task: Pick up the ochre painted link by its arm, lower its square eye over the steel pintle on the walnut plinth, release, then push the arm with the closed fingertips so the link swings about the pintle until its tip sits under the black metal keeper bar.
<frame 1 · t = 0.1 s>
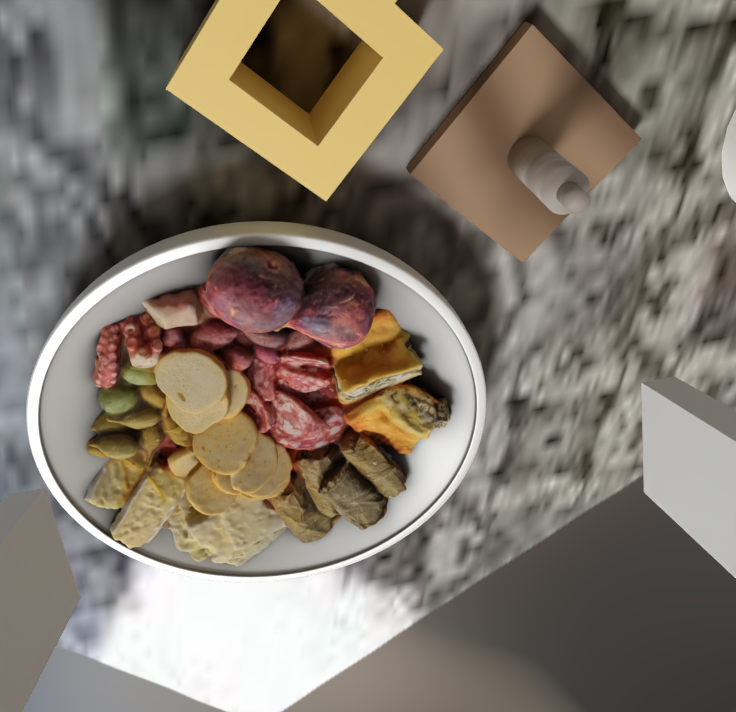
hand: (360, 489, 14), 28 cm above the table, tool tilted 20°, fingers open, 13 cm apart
bowl: (268, 394, 48), on the table
pintle stand: (520, 150, 39), on the table
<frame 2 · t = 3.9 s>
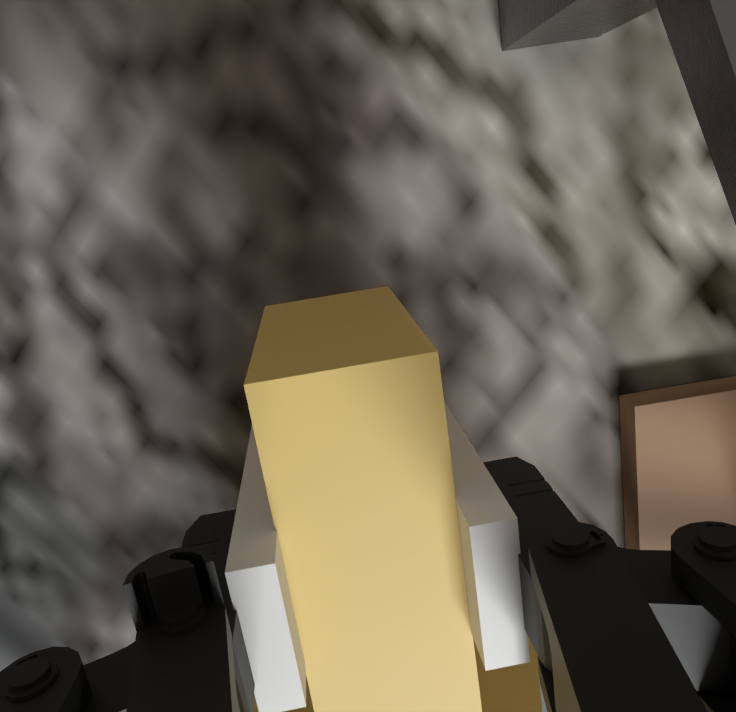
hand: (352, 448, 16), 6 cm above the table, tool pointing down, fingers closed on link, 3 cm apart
link: (326, 295, 16), point 6 cm above the table, touching gripper
keeper: (681, 63, 15), on the table
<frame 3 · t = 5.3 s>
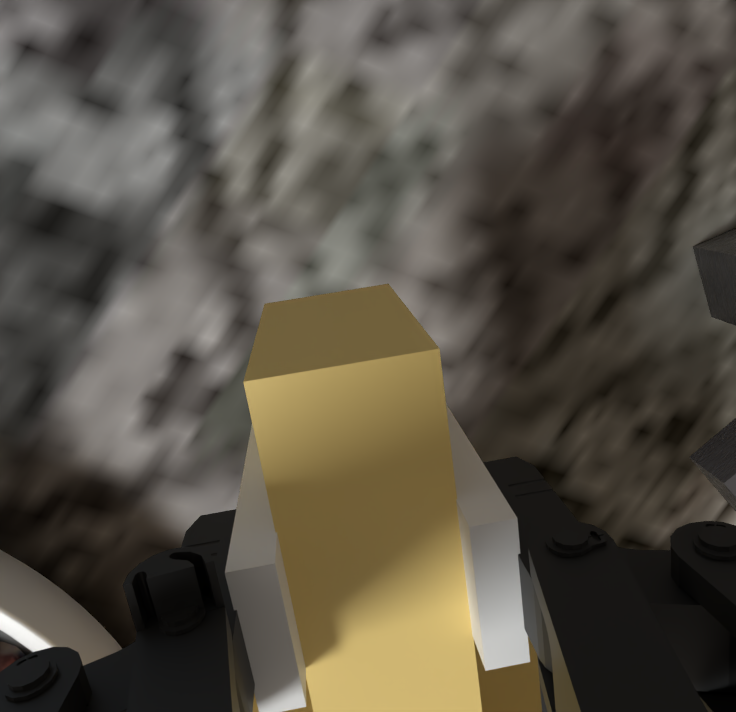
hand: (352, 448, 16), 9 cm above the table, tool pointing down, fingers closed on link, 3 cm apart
link: (326, 293, 16), point 8 cm above the table, touching gripper
when the fingers open (1 cm above the table, at t = 6.8 s): link stays where it is, resting on pintle stand.
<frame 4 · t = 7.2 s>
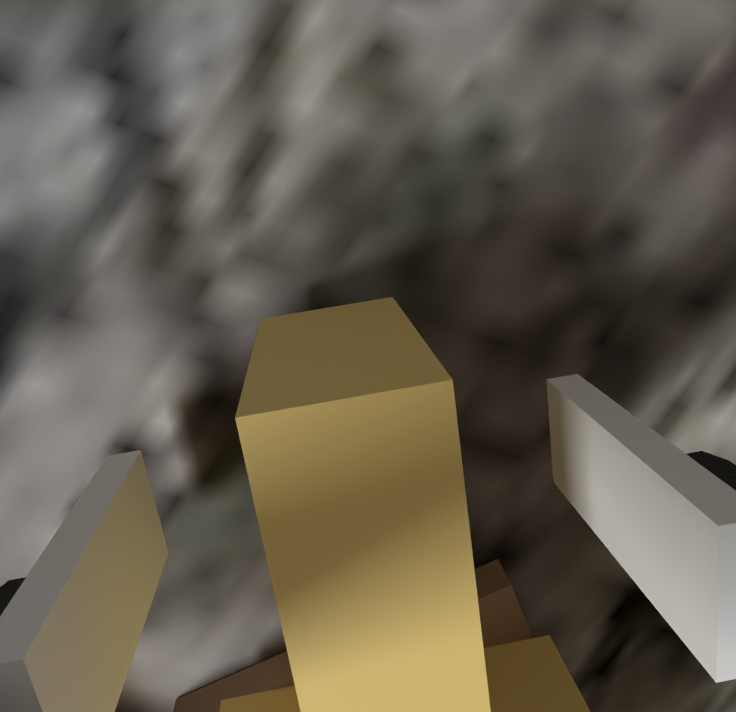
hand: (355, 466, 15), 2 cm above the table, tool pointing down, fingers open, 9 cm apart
link: (326, 307, 15), point 1 cm above the table, touching pintle stand
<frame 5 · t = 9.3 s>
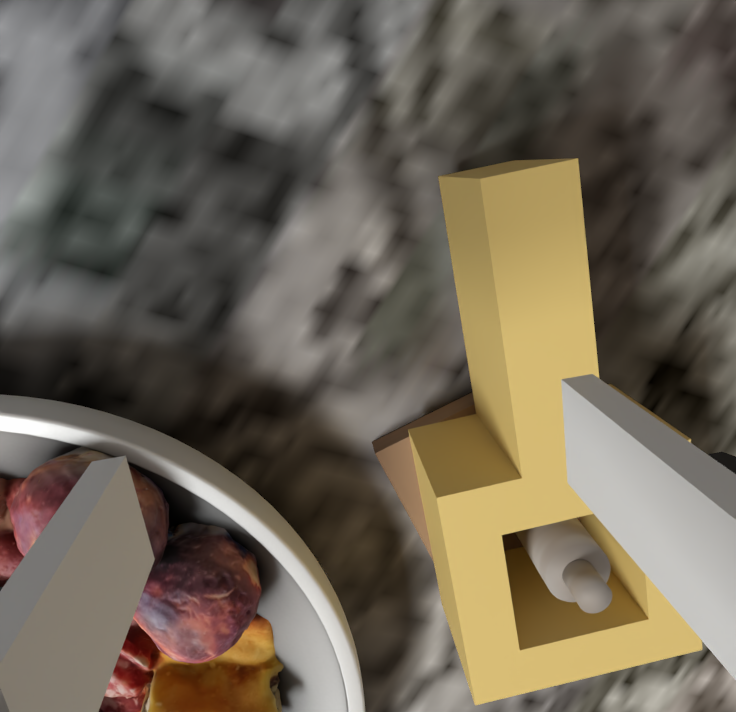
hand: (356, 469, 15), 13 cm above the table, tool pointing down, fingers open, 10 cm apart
bowl: (43, 664, 31), on the table
link: (476, 168, 25), point 1 cm above the table, touching pintle stand
pintle stand: (514, 481, 30), on the table
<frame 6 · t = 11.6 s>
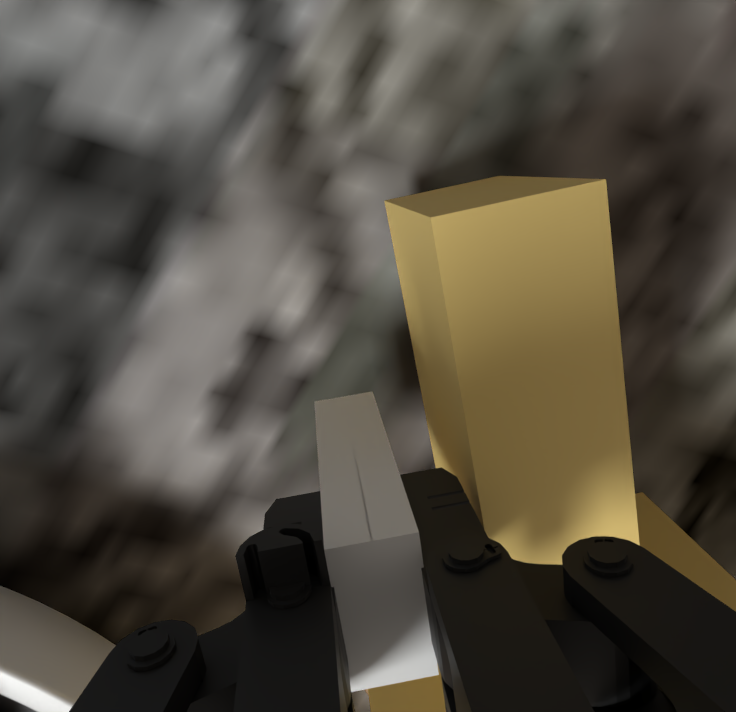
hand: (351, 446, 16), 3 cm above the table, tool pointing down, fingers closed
link: (442, 188, 16), point 1 cm above the table, touching gripper, pintle stand
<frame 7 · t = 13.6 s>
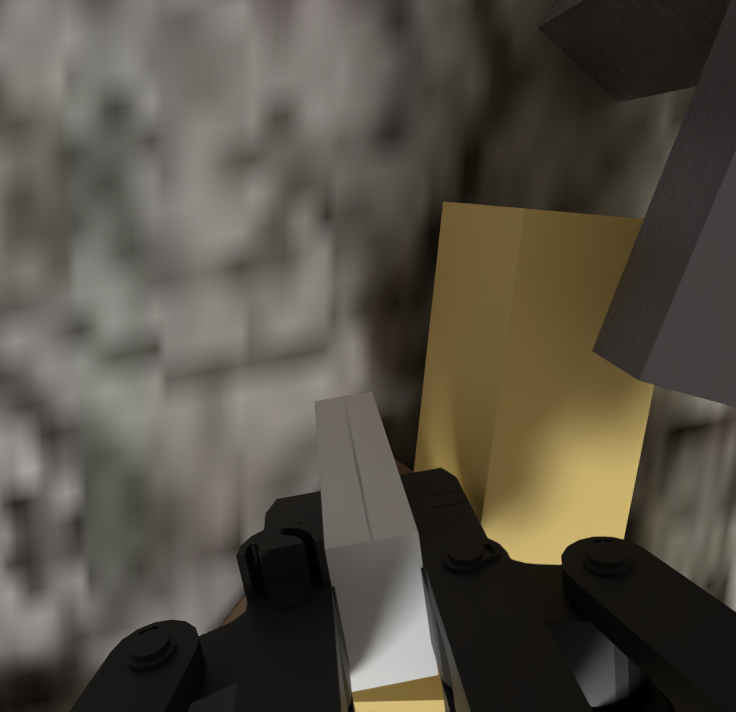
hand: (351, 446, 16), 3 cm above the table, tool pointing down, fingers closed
link: (498, 206, 17), point 1 cm above the table, touching gripper, pintle stand
pintle stand: (396, 632, 22), on the table
keeper: (681, 137, 13), on the table
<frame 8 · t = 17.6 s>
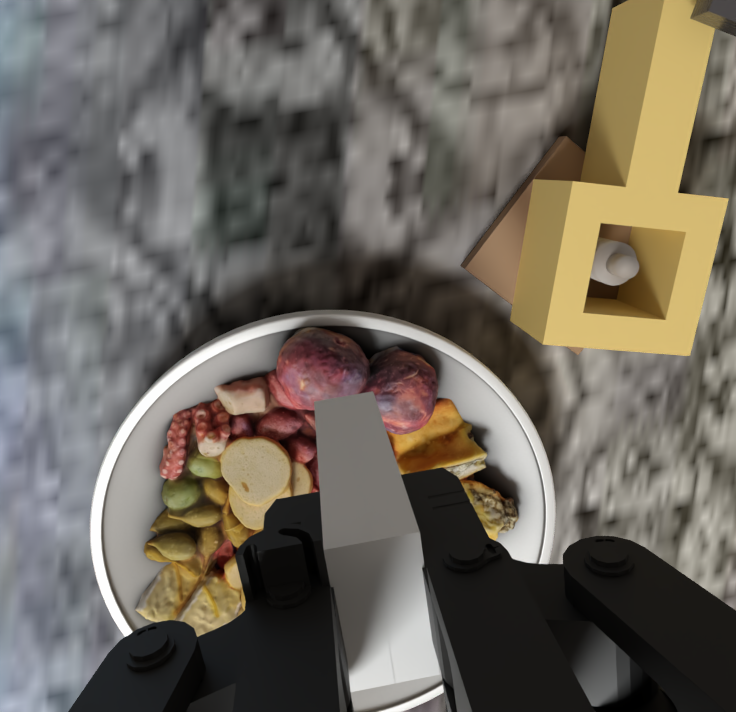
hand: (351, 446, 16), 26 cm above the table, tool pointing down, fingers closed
bowl: (328, 502, 47), on the table
link: (636, 11, 38), point 1 cm above the table, touching pintle stand
pintle stand: (565, 248, 43), on the table
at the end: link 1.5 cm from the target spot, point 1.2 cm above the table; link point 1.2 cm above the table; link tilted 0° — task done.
